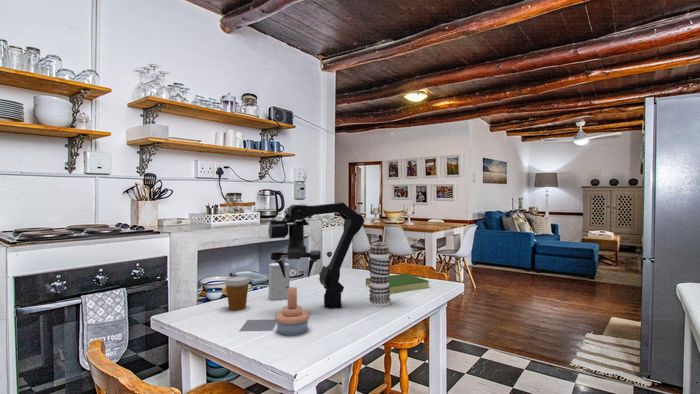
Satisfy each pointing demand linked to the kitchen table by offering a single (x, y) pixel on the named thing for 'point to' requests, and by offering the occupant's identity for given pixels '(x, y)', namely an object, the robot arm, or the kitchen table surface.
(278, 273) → the skincare box
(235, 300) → the disposable coffee cup
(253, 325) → the mat
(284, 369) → the kitchen table surface
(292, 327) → the ramekin
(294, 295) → the lid
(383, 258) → the white patterned cylinder
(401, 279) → the hardcover book
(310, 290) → the kitchen table surface
